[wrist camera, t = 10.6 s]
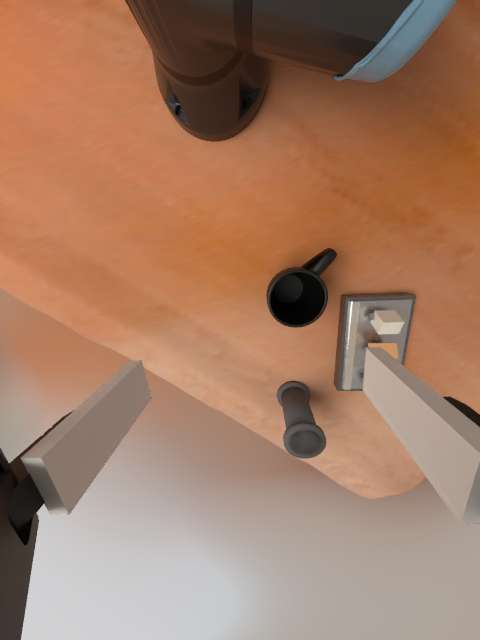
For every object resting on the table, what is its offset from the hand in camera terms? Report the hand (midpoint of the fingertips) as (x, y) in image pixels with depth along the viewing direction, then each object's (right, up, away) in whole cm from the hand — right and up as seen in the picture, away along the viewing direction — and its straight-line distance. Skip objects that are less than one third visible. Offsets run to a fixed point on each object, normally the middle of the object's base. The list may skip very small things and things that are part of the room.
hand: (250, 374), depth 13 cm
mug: (+9, +10, +26) cm, 29 cm away
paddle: (+23, +4, +23) cm, 32 cm away
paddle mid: (+23, -2, +25) cm, 34 cm away
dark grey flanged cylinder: (+10, -12, +32) cm, 36 cm away
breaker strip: (+23, -1, +28) cm, 36 cm away
